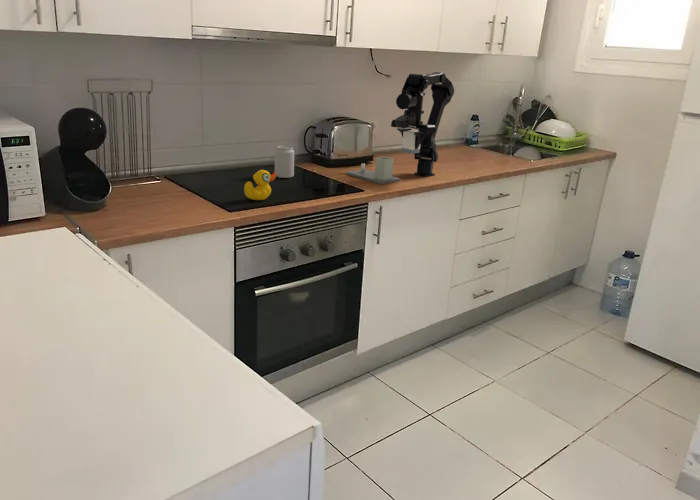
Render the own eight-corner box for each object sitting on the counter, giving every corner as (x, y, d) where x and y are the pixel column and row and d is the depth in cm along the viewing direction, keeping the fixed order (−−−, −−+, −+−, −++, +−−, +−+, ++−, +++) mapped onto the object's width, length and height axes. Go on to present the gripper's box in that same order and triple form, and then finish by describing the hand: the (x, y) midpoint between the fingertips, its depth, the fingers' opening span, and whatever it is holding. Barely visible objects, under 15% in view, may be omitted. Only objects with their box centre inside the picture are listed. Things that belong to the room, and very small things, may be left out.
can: (290, 180, 224) (291, 149, 220) (271, 178, 225) (272, 147, 221) (296, 176, 231) (296, 145, 227) (278, 174, 232) (278, 144, 228)
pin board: (365, 171, 246) (366, 150, 243) (399, 181, 233) (401, 158, 229) (346, 174, 239) (347, 152, 236) (380, 184, 225) (382, 161, 222)
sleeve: (410, 150, 234) (411, 130, 232) (419, 152, 231) (421, 132, 228) (401, 151, 231) (403, 131, 228) (411, 153, 228) (413, 133, 225)
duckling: (271, 196, 200) (272, 167, 197) (279, 199, 196) (279, 170, 193) (241, 199, 194) (241, 169, 190) (248, 203, 190) (248, 173, 186)
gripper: (382, 105, 226) (380, 145, 232) (419, 111, 214) (415, 153, 219) (402, 104, 234) (399, 143, 239) (438, 110, 221) (434, 151, 226)
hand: (411, 148), depth 230 cm, fingers closed on sleeve, 5 cm apart
